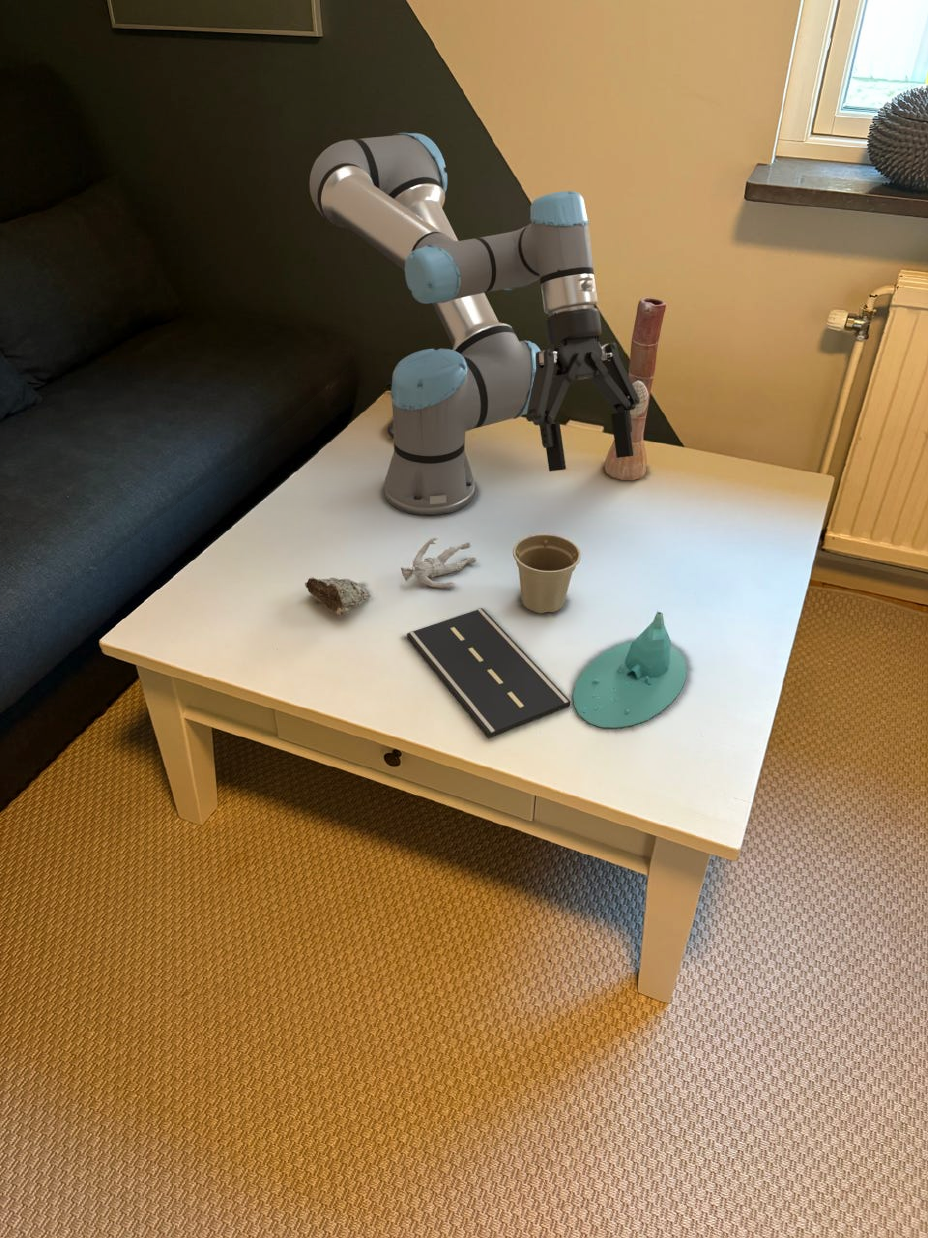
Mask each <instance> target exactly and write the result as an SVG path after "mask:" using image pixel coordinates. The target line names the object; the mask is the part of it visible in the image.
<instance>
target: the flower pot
mask: <svg viewBox="0 0 928 1238" xmlns="http://www.w3.org/2000/svg"><path fill="white" fill-rule="evenodd" d="M512 556H513V559H514V560H515V563H516V566H517V568H518V577H519V586H520V598H521V602H522V604H523V606H524V607H525V608H527V610H529V611H531V612H534V613H537V614H544V613H555V612H557V611H559V610H560V609H562V608H563V606H564V604H565V601H566V597H567V593H568V590H569V587H570V582H571V579H572V576H573V572H575V569H576V567H577V565H578V564H579V563H580V561H581V557H582V553H581V550H580V548H579V546H578V545H577V544H576V543H575V542H574V541H572V540H570V539H569V538H566V537H563V536H562V535H557V534H551V533H537V534H530V535H527V536H525V537H523V538H521V539H519V540H518V541H517V542H516V543H515V544H514V546H513V549H512Z"/></svg>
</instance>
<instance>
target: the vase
mask: <svg viewBox="0 0 928 1238" xmlns="http://www.w3.org/2000/svg"><path fill="white" fill-rule="evenodd" d="M666 308H667V303H666V302H665V301H663V300H662V299H658V298H653V297H646V296H645V297H642V298H640V299H639V300H638V302H637V308H636V315H635V319H634V325H633V331H632V335H631V342H630V353H629V364H628V365H629V367H628V376H629V378H630V380H631V383H632V385H633V387H634V389H635V391H636V393H637V395H638V397H639V399H640V402H639V404H637V405H636V407H635V409H634V410H630V415H631V423H632V432H631V440H632V448H633V456H629V457H620V458H617V456H616V449H615V441H614V440H613V441H612V443H611V445H610V447H609V450H608V451H607V454H606V458H605V461H604V470H605V473H606V474H607V475H608V476H610V477H611V478H614V479H617V480H620V481H635V480H638V479H642V478H643V477H644V475H645V474H646V473H647V461H648V458H647V457H648V456H647V450H646V447H645V442H644V432H645V426H646V419H647V416H648V415H647V414H648V409H649V403H650V398H651V391H652V386H653V381H654V377H655V372H656V368H657V367H656V366H657V356H658V346H659V341H660V337H661V331H662V325H663V322H664V317H665V312H666ZM628 398H629V396H628Z"/></svg>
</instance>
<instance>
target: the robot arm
mask: <svg viewBox="0 0 928 1238" xmlns="http://www.w3.org/2000/svg"><path fill="white" fill-rule="evenodd" d="M446 167H447V166H446V163H445V160H444V157H443V154H442V152H441V150H440V149H439V148H438V146H437V144H435V142H434V141H433V140H432V139H431V138H430V137H428V136H426V135H425V134H422V133H417V132H413V133H410V132H409V133H408V132H398V133H395V134H393V135H387V136H386V135H384V136H376V137H375V136H374V137H364V138H357V139H345V140H340V141H338V142H335V143H333V144H331V145H330V146H328V147H327V148H326V149H324V150H323V151H321V153H320V155H318V157H317V158H316V159H315V161H314V164H313V166H312V169H311V171H310V175H309V184H308V185H309V193H310V196H311V200H312V202H313V205H314V206H315V208H316V210H317V211H318V212H319V214H320V215H321V216H322V217H323V218H325V219H326V220H327V221H328V222H329V223H330V224H332V225H334V226H335V227H338V228H342V229H349V230H350V231H352V232H353V233H355V234H356V235H357V236H358V237H360V238H361V239H363V240H364V241H365V242H367V243H368V244H369V245H370V246H372V247H373V248H374V249H376V250H377V251H378V252H380V253H381V254H382V255H384V256H385V257H386V258H387V259H389V260H390V261H391V262H393V263H394V264H395V265H397V266H398V267H399V268H400V269H402V270H403V271H404V276H405V282H406V285H407V288H408V290H409V291H411V295H412V297H413V298H414V299H415V300H416V301H417V302H418V303H421V304H425V305H427V304H428V305H430V304H432V306H433V309H434V310H435V313H436V314H437V317H438V318H439V320H440V321H439V322H440V323H441V325H442V326H443V329H444V331H445V332H446V336H447V337H448V339H449V340H450V344H451V345H452V349H449V348H439V349H435V348H427V349H422V350H418V351H415V352H412V353H410V354H409V355H407V356H405V357H403V358H402V359H401V360H400V361H399V362H398V363H397V364H396V366H395V367H394V370H393V372H392V379H391V381H388V382H387V383H386V384H385V387H386V388H389V387H391V389H390V399H391V407H392V421H391V422H390V423H389V424H388V426H387V430H386V431H387V434H388V436H389V437H390V438H391V439H393V453H392V456H391V460H390V462H389V467H388V469H387V472H386V475H385V477H384V484H383V485H384V496H385V498H386V500H387V501H388V503H389V504H390V505H391V506H393V507H395V508H396V509H398V510H401V511H403V512H406V513H410V514H414V515H420V516H438V515H445V514H449V513H453V512H456V511H459V510H461V509H463V508H464V507H466V506H467V505H469V504H470V503H471V502H472V500H473V499H474V497H475V491H476V490H475V489H476V487H475V486H476V484H475V478H474V474H473V471H472V469H471V465H470V463H469V460H468V457H467V453H466V450H465V446H466V445H465V443H466V432H468V431H471V430H474V429H478V428H482V427H487V426H489V425H493V424H497V423H501V422H504V421H509V420H515V419H518V418H520V417H521V416H524V415H525V420H526V421H527V422H530V423H531V422H532V423H533V425H534V426H539V431H540V432H539V433H540V437H541V438H540V439H541V445H542V448H543V449H545V451H546V452H545V453H546V457H547V465H548V472H558V471H564V470H567V466H566V458H565V451H564V445H563V437H562V429H561V423H560V422H554V421H555V420H556V417H557V416H558V413H559V410H560V409H561V406H562V404H563V402H564V399H565V397H566V394H567V392H568V389H569V387H570V385H571V384H572V383H573V382H574V381H577V380H579V381H581V380H587V381H589V382H591V383H592V384H593V385H594V386H595V387H596V388H597V390H598V391H599V393H600V394H601V395H602V396H603V397H604V399H605V400H606V402H607V403H608V404H609V405H610V406H611V407H612V409H613V410H614V413H610V417H611V425H612V433H613V441H615V449H616V456H617V458H620V457H629V456H633V448H632V440H631V432H632V423H631V415H630V410H634V409H635V407H636V405H637V404H639V402H640V399H639V397H638V395H637V393H636V391H635V389H634V387H633V385H632V383H631V380H630V378H629V376H628V375H629V373H628V372H627V370H626V368H625V366H624V364H623V362H622V360H621V358H620V355H619V354H620V353H619V350H618V345H617V343H616V342H614V341H613V342H608V343H605V344H600V341H599V340H600V339H599V338H600V336H601V335H602V332H603V331H602V322H601V314H600V310H598V308H595V306H596V305H597V304H598V303H599V302H598V295H597V294H598V293H597V288H596V286H597V285H596V279H595V271H594V262H593V261H594V260H593V254H592V245H591V236H590V227H589V225H590V221H589V220H588V215H587V211H586V206H585V200H584V197H583V196H582V194H581V193H579V192H577V191H573V190H564V191H556V192H551V193H548V194H547V193H546V194H544V195H541V196H539V197H537V198H535V199H533V201H532V202H531V205H530V208H529V209H530V217H529V219H530V222H531V223H529V224H527V225H526V226H524V227H521V228H520V229H517V230H513V231H509V232H504V233H503V232H502V233H499V234H492V235H487V236H482V237H474V238H469V239H463V240H458V237H457V236H456V234H455V232H454V229H453V228H452V226H451V224H450V221H449V220H448V217H447V215H446V213H445V211H444V209H443V207H444V204H445V200H446V192H447V189H448V173H447V172H446V171H445V168H446ZM538 281H539V282H540V289H541V296H542V303H543V312H544V313H545V314H546V315H548V317H547V318H546V320H545V326H546V332H547V339H548V343H549V344H550V345H552V348H547V349H543V350H541V349H540V347H539V346H538V345H537V344H536V343H534V342H532V341H530V340H521V341H520V340H519V338H518V337H517V334H516V333H515V331H514V329H513V327H512V326H511V325H510V324H507V323H503V322H500V320H498V318H497V316H496V314H495V312H494V309H493V308H492V305H491V304H490V302H489V300H488V297H487V296H486V294H487V293H491V292H496V291H501V290H503V291H514V290H517V289H524V288H526V287H528V286H529V285H530V284H533V283H534V282H538ZM555 366H556V369H555ZM628 396H629V398H628Z"/></svg>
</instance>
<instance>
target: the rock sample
mask: <svg viewBox="0 0 928 1238" xmlns="http://www.w3.org/2000/svg"><path fill="white" fill-rule="evenodd" d="M304 586H305V588H306V589H307V591H308V593H310V595H312V596H313V597H314V598H315V599H316V600H317V601H318V602H320V603H322V604H323V605H324V606H325V608H326V609H327V610H329V611H332V612H333V613H334V614H336V615H339V616H340V615H343V614H344V613H345V612H347V611H350V610H352V609H356V608H357V607H358V606H360V604H361V603H362V602H364V603H365V602H366V601H367V600H368V599H369V598H370V597H371V596H372V595H371V593H369V592H368V591H366V590H365V588H364V587H362V586H361V584H360V583H358V582H356V581H353V580H351V579H349V578H341V579H339V578H335V577H330V578H322V579H321V578H320V579H319V578H315V577H313V576H310V577H309V578H308V579H307V581H305V582H304Z"/></svg>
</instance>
